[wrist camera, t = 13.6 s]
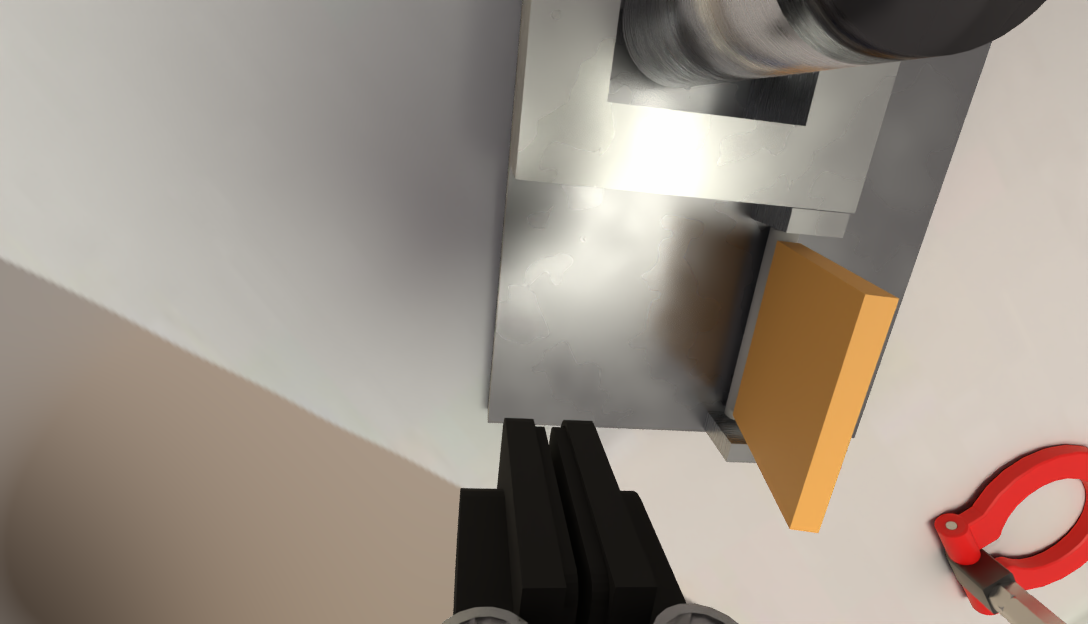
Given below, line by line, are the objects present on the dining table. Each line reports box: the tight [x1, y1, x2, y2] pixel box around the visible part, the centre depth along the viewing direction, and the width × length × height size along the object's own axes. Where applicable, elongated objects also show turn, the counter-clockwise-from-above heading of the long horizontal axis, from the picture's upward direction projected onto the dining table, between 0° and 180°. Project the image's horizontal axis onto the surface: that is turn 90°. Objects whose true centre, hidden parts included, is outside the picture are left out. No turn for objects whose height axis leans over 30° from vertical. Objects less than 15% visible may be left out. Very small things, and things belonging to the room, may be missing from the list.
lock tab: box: [724, 227, 899, 533], centre depth 18 cm, size 8×1×8 cm, turn 174°
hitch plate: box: [488, 0, 992, 463], centre depth 18 cm, size 22×16×5 cm
